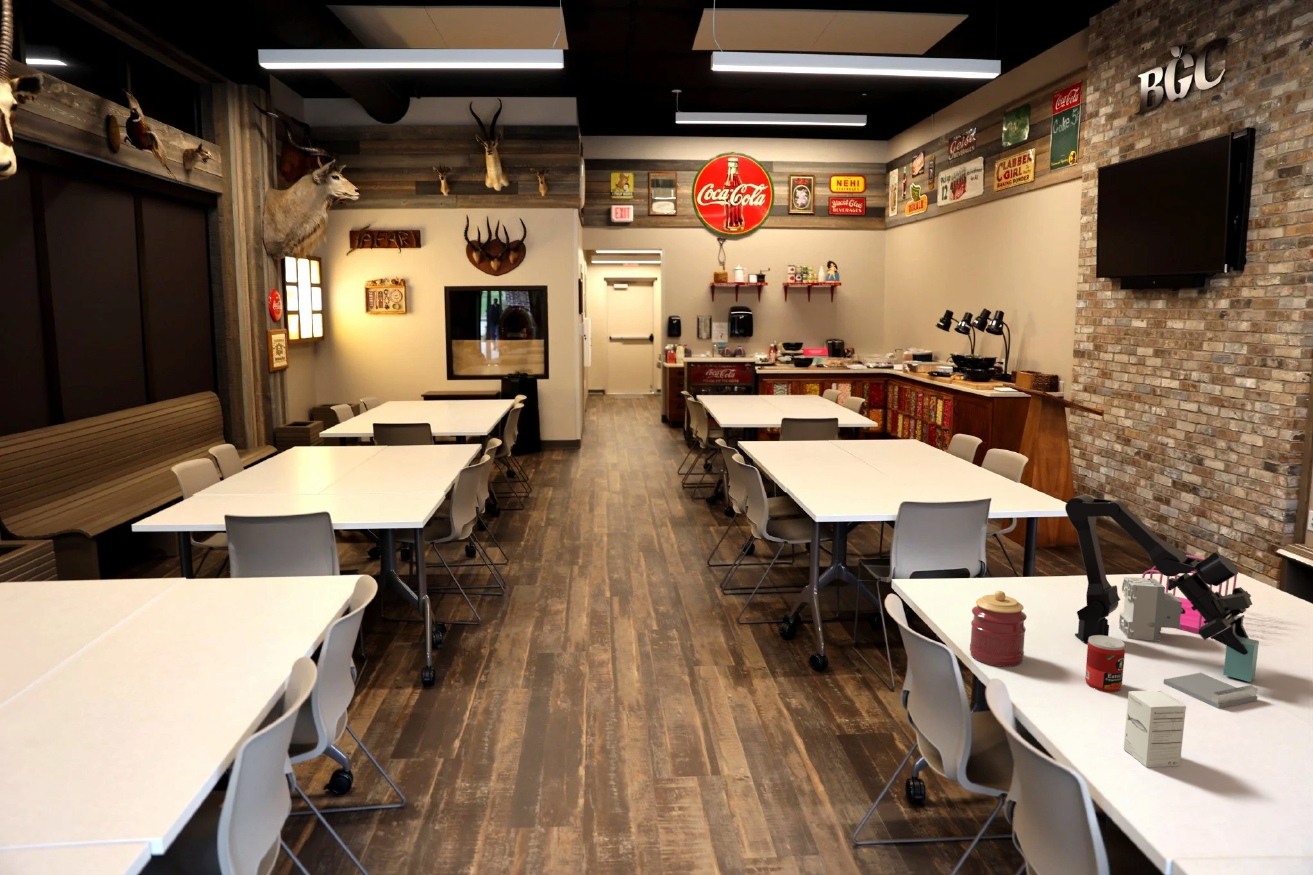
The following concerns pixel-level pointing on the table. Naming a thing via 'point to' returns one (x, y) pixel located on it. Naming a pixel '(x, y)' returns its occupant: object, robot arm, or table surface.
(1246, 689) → the plate
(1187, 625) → the file sorter
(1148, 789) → the table surface
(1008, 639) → the canister
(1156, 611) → the circuit breaker
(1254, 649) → the block
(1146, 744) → the supplement box
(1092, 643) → the canned food
